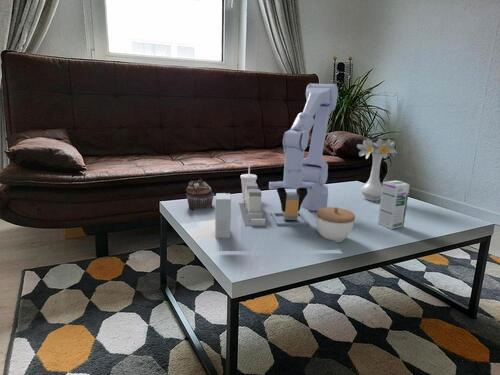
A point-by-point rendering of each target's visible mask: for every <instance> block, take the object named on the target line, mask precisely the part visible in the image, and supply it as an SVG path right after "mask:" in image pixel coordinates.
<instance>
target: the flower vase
mask: <svg viewBox="0 0 500 375" xmlns="http://www.w3.org/2000/svg"><path fill="white" fill-rule="evenodd" d="M356 148H357V149H358V150H360V151H359V152H358V156H359V157H363V156H365V159H366V160H368V159H369V158H370V154H371V155H372V165H371V171H370V175H369V179H368V180H367V181H366V182H365V183H364V184H363V185H362V186H361V188H360V192H361V194H362V196H363V198H364V199H365V200H366V201H370V202H377V201H381V195H382V187H383V184H381V180H380V171H381V170H380V169H381V163H382V159H387V158H388V154H390V155H392V156H393V157H394V158H395V157H396V155H399V153H398V151H397V150H396V149H395V142H394V141H392V140H390V138H388V139H387V140H386V141H385V142H383V138H378V140H377V141H376V142H373V141H372V139H369V137H368V138H366V139H363V141H362V143H361V144H360V143H358V144H356Z"/></svg>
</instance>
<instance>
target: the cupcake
mask: <svg viewBox="0 0 500 375" xmlns="http://www.w3.org/2000/svg"><path fill="white" fill-rule="evenodd" d="M185 191H186V193H185V196H186V200H187V204H188V208H189V209H190V210H192V211H195V209H197V210H198V209H199V210H203V209H209V208H211V207H212V206H213V200H214V197H215V194H214V193H213V192H212V187H211V186H209V184H208V183H206V181H204V180H203V179H202V178H199V179H197V180H192V179H191V180H189V182H188V186H187V188H186V189H185Z"/></svg>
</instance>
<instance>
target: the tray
mask: <svg viewBox="0 0 500 375" xmlns="http://www.w3.org/2000/svg"><path fill="white" fill-rule="evenodd" d="M282 214H283V212H271V217H272V219H273V222H274V223H275V225H276V226H277V227H283V226H285V227H286V226H287V227H291V226H292V227H296V226H297V227H302V226H303V227H304V226H305V227H306V226H307V227H308V226H309V227H310V222H309V221H308V220H307V218H306V217H305V215H304V214H303V213H302V212H298V217H299V218H301V220H302V222H280V221H279V220H278V218H277V216H282Z"/></svg>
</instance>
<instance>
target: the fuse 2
mask: <svg viewBox="0 0 500 375" xmlns="http://www.w3.org/2000/svg"><path fill="white" fill-rule="evenodd" d="M261 205H262V191H261V189H259V188H258V189H248V200H247V213H248V210H261Z"/></svg>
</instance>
